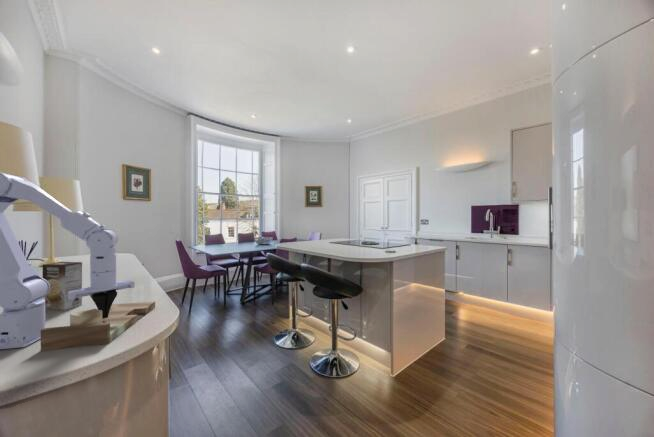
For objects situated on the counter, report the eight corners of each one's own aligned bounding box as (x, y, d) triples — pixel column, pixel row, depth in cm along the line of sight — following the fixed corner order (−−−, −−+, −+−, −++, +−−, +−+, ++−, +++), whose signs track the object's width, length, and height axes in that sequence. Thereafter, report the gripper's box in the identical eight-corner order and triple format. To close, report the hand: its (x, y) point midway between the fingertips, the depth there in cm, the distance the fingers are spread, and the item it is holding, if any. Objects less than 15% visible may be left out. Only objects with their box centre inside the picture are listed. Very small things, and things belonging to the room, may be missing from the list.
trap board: (107, 343, 66) (107, 324, 66) (40, 350, 62) (40, 329, 62) (155, 306, 93) (155, 293, 93) (110, 310, 90) (110, 295, 90)
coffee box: (41, 310, 91) (40, 264, 91) (61, 304, 97) (61, 261, 97) (64, 310, 90) (64, 264, 90) (83, 304, 96) (83, 261, 96)
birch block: (79, 331, 68) (79, 316, 68) (70, 328, 70) (70, 314, 70) (102, 324, 73) (102, 310, 73) (92, 321, 75) (92, 308, 75)
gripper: (128, 265, 83) (128, 307, 84) (65, 273, 72) (65, 322, 72) (136, 267, 79) (137, 312, 79) (71, 277, 68) (72, 328, 68)
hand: (104, 317), depth 75 cm, fingers closed
